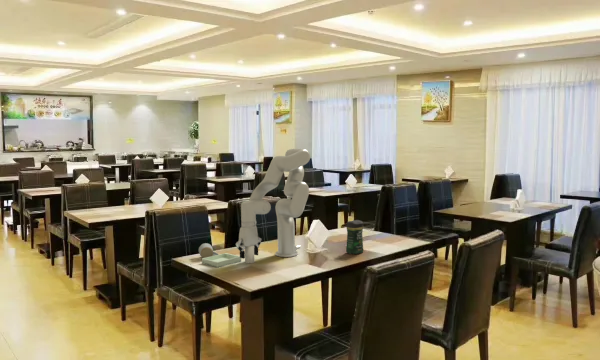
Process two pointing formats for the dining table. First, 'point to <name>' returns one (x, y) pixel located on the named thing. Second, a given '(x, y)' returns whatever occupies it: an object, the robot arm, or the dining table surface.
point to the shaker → (249, 254)
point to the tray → (221, 260)
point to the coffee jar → (354, 237)
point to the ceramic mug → (206, 250)
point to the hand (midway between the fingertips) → (249, 256)
